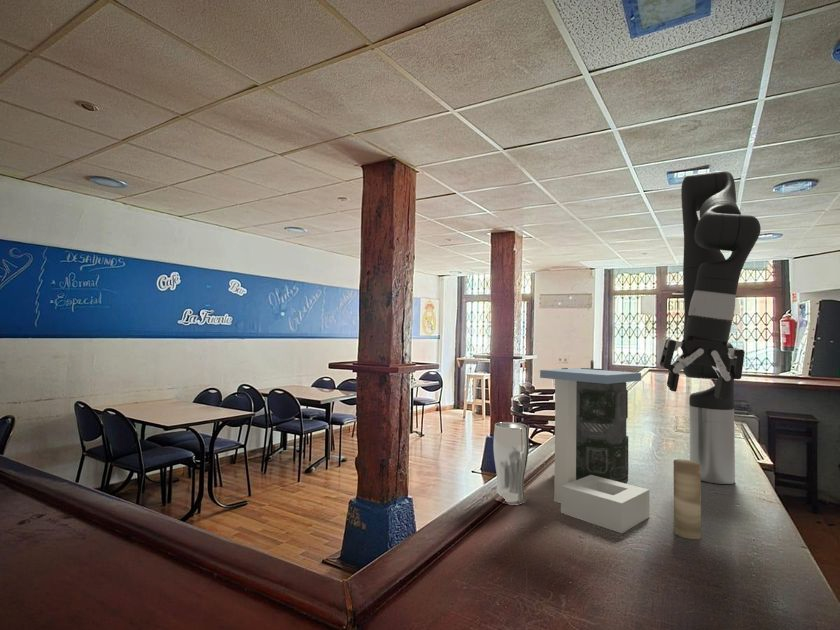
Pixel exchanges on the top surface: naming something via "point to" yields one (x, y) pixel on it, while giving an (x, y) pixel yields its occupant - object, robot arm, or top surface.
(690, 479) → the peg
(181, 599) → the top surface
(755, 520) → the top surface
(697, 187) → the robot arm
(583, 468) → the canister
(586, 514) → the kiosk
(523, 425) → the beer glass
